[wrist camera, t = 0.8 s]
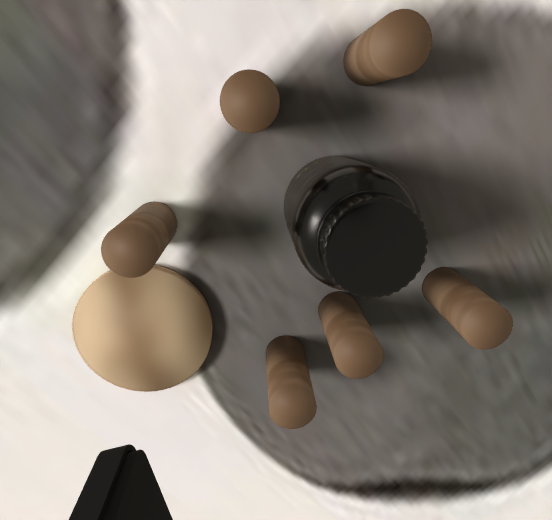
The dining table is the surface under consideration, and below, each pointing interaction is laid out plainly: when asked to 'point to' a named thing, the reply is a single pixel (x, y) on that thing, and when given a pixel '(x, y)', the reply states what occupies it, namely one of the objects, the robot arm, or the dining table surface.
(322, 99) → the dining table surface
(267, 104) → the walnut dowels
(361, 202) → the supplement bottle
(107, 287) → the cork coaster
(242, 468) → the dining table surface
